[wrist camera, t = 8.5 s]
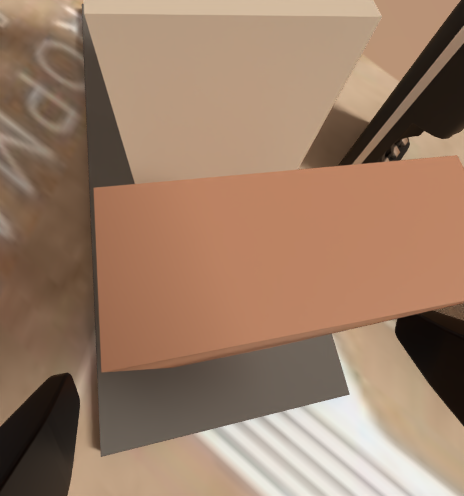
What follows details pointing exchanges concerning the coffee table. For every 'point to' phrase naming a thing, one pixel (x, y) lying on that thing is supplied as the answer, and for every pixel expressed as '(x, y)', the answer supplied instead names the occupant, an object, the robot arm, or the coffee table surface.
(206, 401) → the domino mat
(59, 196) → the coffee table surface
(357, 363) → the coffee table surface
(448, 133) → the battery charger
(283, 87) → the ivory domino
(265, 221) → the terracotta domino
